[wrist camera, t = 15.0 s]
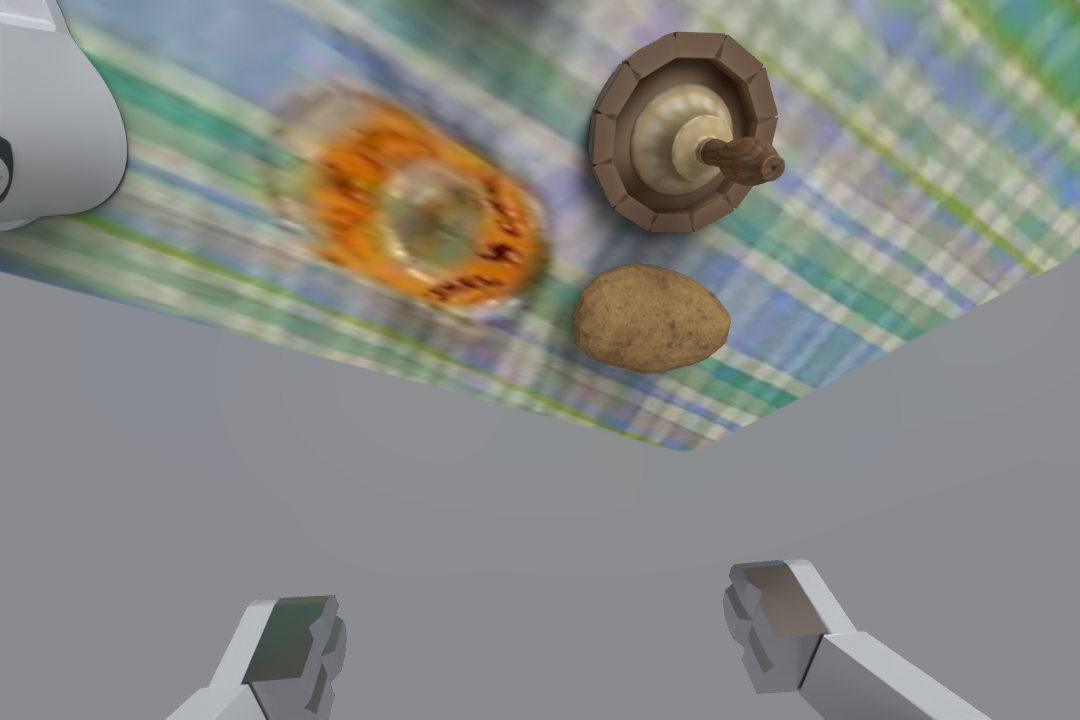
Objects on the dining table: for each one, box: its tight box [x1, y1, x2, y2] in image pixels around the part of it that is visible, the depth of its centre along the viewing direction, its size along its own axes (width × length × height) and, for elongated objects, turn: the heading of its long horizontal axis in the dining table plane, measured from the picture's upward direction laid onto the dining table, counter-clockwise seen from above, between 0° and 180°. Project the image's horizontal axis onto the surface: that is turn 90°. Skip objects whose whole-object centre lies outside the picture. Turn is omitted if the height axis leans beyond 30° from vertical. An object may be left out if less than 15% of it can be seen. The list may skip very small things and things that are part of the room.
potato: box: [572, 263, 731, 373], centre depth 44 cm, size 10×14×8 cm
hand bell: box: [630, 83, 785, 196], centre depth 33 cm, size 8×8×16 cm
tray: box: [588, 32, 778, 232], centre depth 40 cm, size 14×14×3 cm
